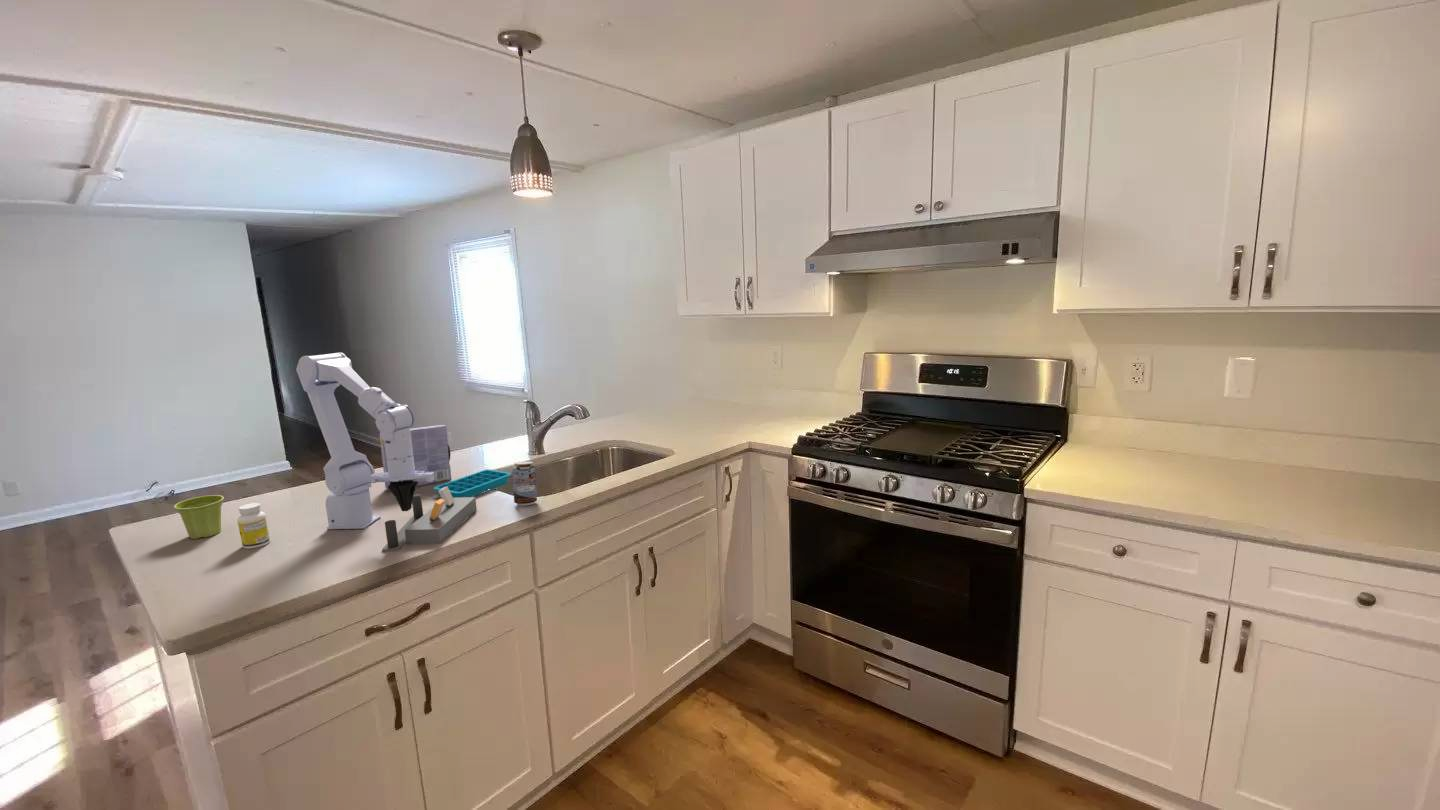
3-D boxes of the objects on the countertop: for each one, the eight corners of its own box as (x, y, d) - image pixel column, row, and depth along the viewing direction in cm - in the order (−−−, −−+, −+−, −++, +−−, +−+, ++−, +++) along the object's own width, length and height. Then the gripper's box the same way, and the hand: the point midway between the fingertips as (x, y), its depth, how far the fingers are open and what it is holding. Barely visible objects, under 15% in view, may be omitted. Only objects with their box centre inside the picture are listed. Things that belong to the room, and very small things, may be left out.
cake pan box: (451, 475, 194) (445, 422, 191) (455, 479, 190) (449, 424, 187) (384, 488, 182) (377, 432, 179) (388, 492, 178) (380, 435, 175)
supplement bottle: (247, 542, 145) (240, 503, 143) (274, 538, 147) (267, 500, 145) (238, 551, 140) (231, 511, 138) (266, 547, 142) (259, 507, 140)
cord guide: (382, 552, 138) (378, 525, 136) (413, 518, 158) (409, 494, 157) (400, 551, 138) (396, 523, 137) (429, 517, 159) (426, 493, 157)
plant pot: (239, 528, 153) (233, 496, 151) (198, 543, 144) (192, 509, 143) (212, 525, 156) (205, 493, 154) (171, 540, 147) (164, 506, 145)
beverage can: (513, 509, 163) (510, 467, 160) (515, 500, 170) (511, 459, 167) (538, 507, 164) (534, 465, 162) (538, 498, 171) (535, 457, 169)
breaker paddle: (428, 520, 146) (434, 502, 145) (434, 515, 149) (440, 498, 148) (432, 522, 146) (439, 504, 145) (438, 517, 149) (445, 499, 148)
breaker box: (406, 543, 142) (404, 529, 141) (447, 509, 163) (445, 497, 163) (440, 543, 142) (438, 529, 141) (476, 509, 163) (475, 497, 163)
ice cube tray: (432, 497, 174) (431, 488, 174) (487, 478, 192) (486, 469, 191) (460, 503, 169) (459, 493, 169) (514, 482, 187) (513, 473, 186)
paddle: (445, 508, 155) (438, 491, 154) (451, 504, 158) (443, 487, 157) (450, 507, 155) (442, 489, 154) (455, 502, 158) (447, 485, 157)
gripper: (360, 461, 140) (367, 516, 143) (422, 460, 140) (428, 515, 143) (376, 453, 147) (383, 505, 150) (435, 452, 147) (441, 504, 150)
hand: (406, 509), depth 147 cm, fingers closed
